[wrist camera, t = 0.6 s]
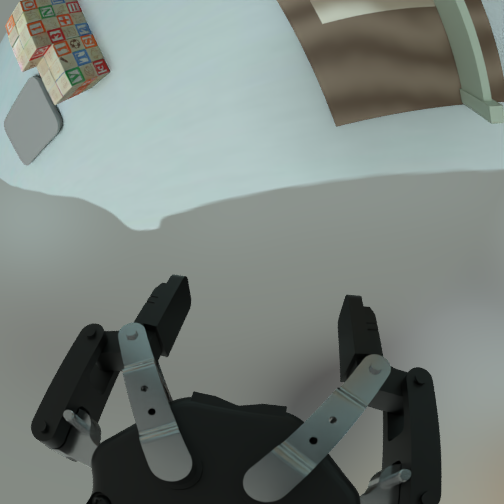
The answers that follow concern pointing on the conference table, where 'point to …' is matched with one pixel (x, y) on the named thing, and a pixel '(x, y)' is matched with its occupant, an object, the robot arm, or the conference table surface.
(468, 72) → the hinged fence panel
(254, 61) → the conference table surface
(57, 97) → the stack of blocks
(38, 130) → the tablet
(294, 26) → the board
